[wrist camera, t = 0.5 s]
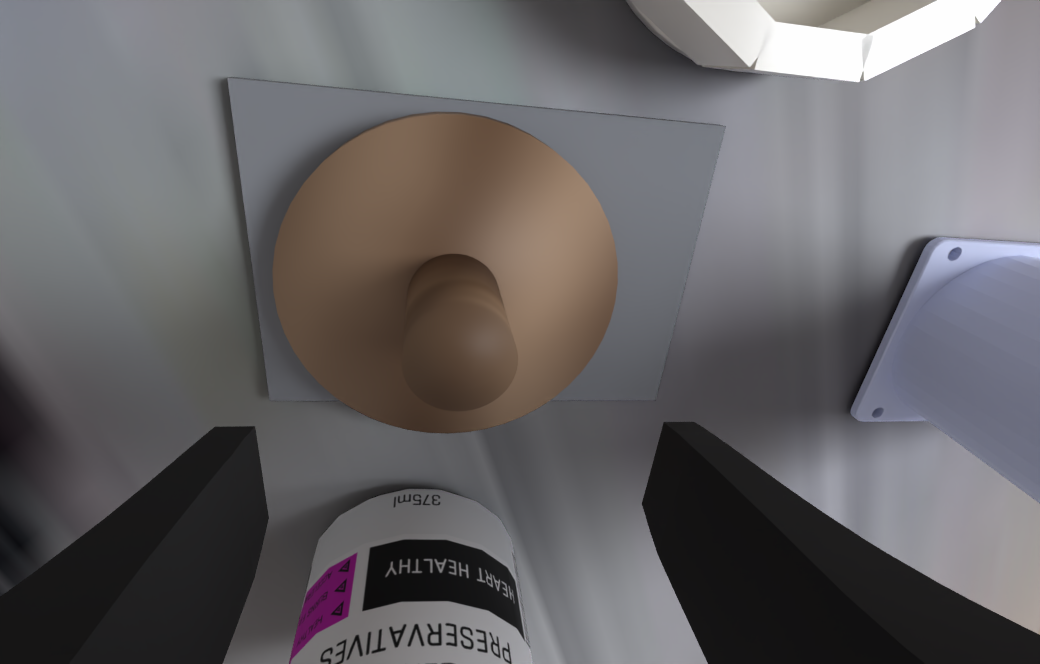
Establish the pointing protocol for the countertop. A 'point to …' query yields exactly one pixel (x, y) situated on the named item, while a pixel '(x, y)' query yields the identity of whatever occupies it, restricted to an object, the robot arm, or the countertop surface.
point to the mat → (572, 134)
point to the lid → (445, 273)
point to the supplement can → (413, 586)
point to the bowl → (808, 33)
